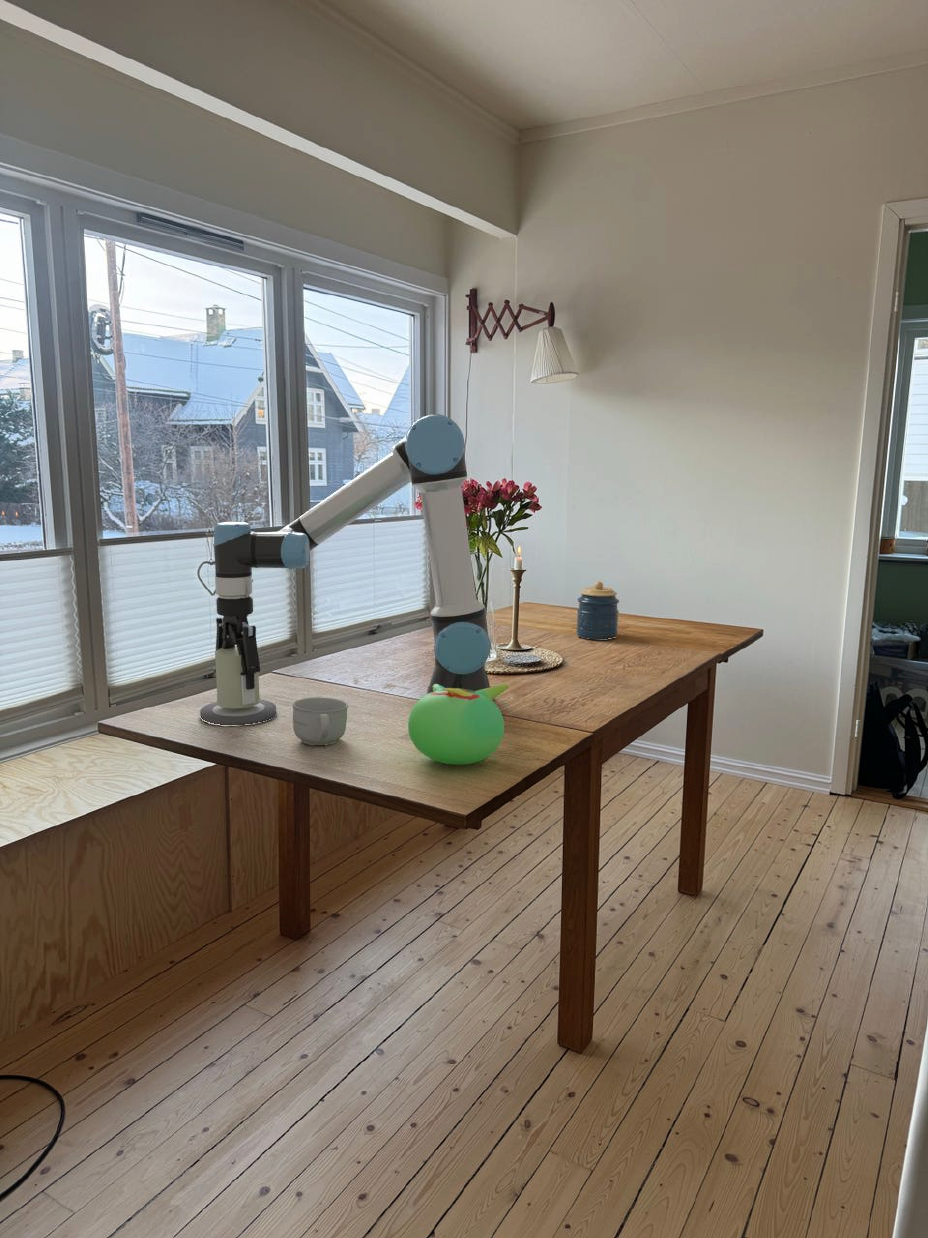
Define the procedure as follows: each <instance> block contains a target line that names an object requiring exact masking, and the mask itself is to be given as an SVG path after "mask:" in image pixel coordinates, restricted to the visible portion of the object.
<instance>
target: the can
mask: <svg viewBox="0 0 928 1238" xmlns="http://www.w3.org/2000/svg"><path fill="white" fill-rule="evenodd" d="M214 657H215V675H216V676H215V677H216V702H217V705H218V706H220V707H223V708H231V709H237V708H247V707H251V706H255V705H257V704H259V703H260V699H261V696H260V694H261V693H260V677H259V676H260V675H259V673H260V672H257V673H255V702H256V703H250V704H245V705H243V704H242V685H241V675H240V673H242V672H243V669H242V665H241V655H239V653H238V649H237V646H236V645H235V648H229V649H223V648H221V649H218V650H216V649H215V651H214Z"/></svg>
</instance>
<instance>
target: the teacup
mask: <svg viewBox="0 0 928 1238" xmlns="http://www.w3.org/2000/svg"><path fill="white" fill-rule="evenodd" d="M348 708H349V703H347V702H346V701H344V700H342V699H337V698H333V697H323V696H322V697H321V696H320V697H319V696H317V697H315V696H314V697H306V698H301V699H297V700H295V701H293V702H292V728H293V729H292V730H293V732H294V734H295V737H297V738H298V739H299V740H301V742H302V743H304V744H305V743H306V745H308V744H310V745H309V746H315V745H325V746H327V745H326V744H331V743H333V744H335V743H336V742H337V741H339V740H340V739H341V738H342V737H343V736H344V735H345V733H346V729H347V721H348ZM334 742H335V743H334ZM331 745H332V744H331Z"/></svg>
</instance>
